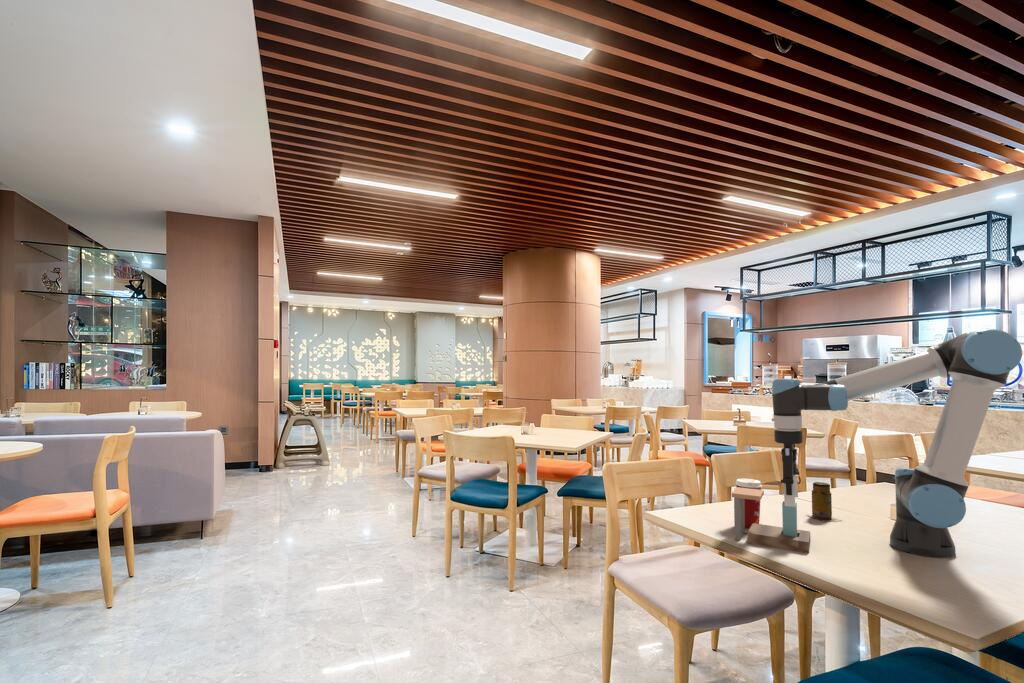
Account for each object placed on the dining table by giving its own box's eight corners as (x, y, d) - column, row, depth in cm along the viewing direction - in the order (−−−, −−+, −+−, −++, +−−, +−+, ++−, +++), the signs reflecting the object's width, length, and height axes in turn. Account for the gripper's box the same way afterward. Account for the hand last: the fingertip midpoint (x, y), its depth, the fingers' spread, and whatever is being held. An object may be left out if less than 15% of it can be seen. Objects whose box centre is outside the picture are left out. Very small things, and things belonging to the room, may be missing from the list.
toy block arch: (764, 535, 166) (763, 490, 166) (760, 544, 157) (760, 496, 158) (737, 531, 170) (736, 487, 170) (732, 539, 161) (731, 493, 162)
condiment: (822, 514, 191) (822, 480, 191) (842, 521, 182) (841, 486, 183) (805, 515, 189) (804, 481, 190) (824, 522, 181) (823, 486, 181)
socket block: (810, 541, 160) (810, 531, 160) (808, 553, 150) (808, 542, 150) (752, 532, 168) (752, 523, 168) (747, 543, 158) (747, 532, 158)
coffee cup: (765, 530, 170) (764, 483, 171) (738, 529, 172) (737, 482, 173) (759, 523, 179) (758, 478, 179) (733, 521, 180) (732, 477, 181)
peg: (797, 543, 158) (796, 502, 159) (796, 546, 155) (795, 505, 156) (784, 541, 160) (783, 501, 161) (783, 544, 157) (782, 503, 157)
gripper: (777, 425, 172) (781, 491, 170) (770, 433, 151) (773, 508, 149) (804, 426, 168) (807, 494, 167) (799, 434, 147) (803, 512, 145)
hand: (791, 501), depth 158 cm, fingers open, 13 cm apart
